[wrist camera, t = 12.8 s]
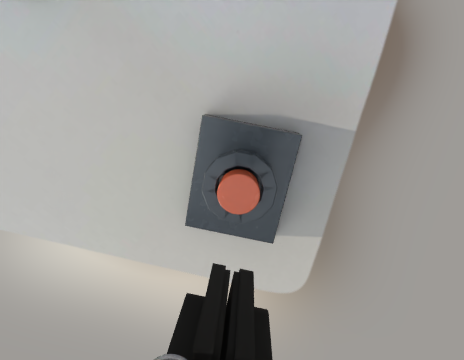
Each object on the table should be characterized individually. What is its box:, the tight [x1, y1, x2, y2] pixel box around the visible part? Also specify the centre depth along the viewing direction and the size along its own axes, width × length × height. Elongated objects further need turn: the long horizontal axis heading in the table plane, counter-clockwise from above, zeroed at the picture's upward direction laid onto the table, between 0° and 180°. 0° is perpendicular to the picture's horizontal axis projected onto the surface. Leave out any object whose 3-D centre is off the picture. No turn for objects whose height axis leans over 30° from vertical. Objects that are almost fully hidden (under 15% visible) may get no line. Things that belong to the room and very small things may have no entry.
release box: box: [185, 114, 302, 243], centre depth 26 cm, size 11×9×4 cm
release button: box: [217, 169, 260, 214], centre depth 24 cm, size 4×4×2 cm
